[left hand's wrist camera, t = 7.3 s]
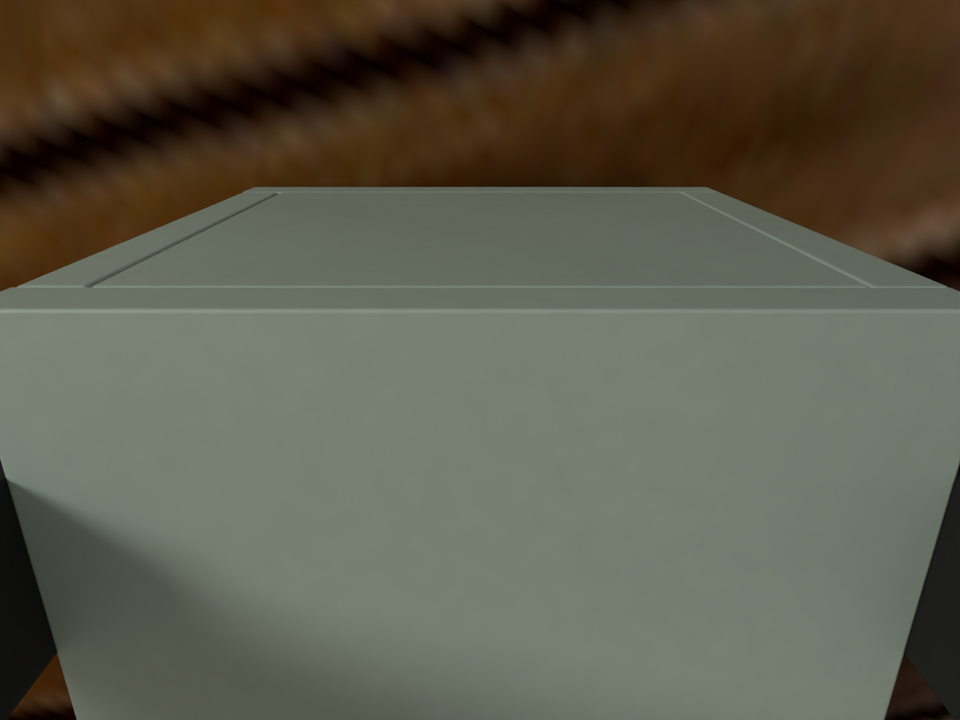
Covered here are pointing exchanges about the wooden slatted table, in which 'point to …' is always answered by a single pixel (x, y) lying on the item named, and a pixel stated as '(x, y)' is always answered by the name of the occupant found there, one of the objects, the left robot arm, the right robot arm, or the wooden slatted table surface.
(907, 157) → the wooden slatted table surface
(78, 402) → the cabinet
